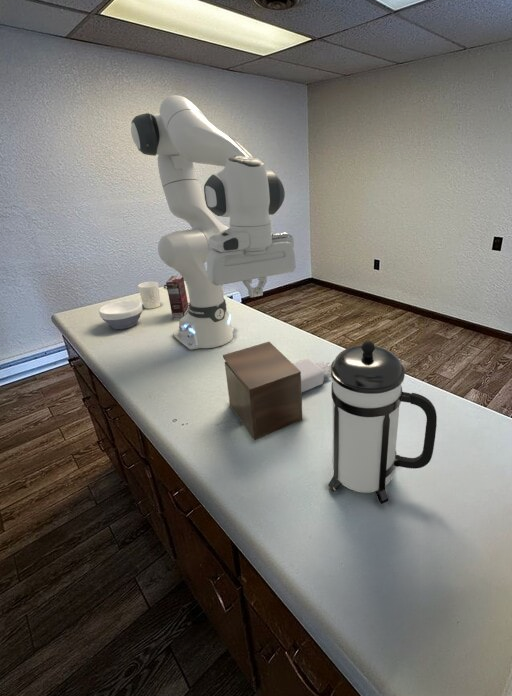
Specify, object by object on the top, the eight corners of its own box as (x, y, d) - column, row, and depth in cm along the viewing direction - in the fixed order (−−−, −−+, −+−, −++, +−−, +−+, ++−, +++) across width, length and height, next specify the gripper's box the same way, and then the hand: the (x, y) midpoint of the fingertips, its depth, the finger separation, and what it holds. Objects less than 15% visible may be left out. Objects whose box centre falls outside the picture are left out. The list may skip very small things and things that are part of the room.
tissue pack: (340, 378, 104) (296, 396, 96) (321, 364, 111) (279, 381, 103) (340, 364, 102) (295, 381, 94) (321, 351, 109) (278, 366, 101)
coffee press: (348, 526, 62) (352, 377, 51) (314, 460, 75) (311, 331, 64) (430, 491, 68) (449, 352, 57) (384, 437, 82) (393, 316, 71)
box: (229, 404, 93) (224, 361, 88) (273, 388, 100) (270, 347, 95) (254, 440, 81) (249, 393, 76) (302, 419, 88) (300, 374, 83)
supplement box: (177, 311, 152) (171, 275, 146) (189, 311, 152) (184, 275, 146) (172, 320, 144) (165, 282, 138) (184, 319, 144) (178, 281, 138)
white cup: (138, 308, 155) (133, 286, 151) (149, 302, 162) (145, 281, 159) (155, 309, 154) (150, 287, 150) (165, 303, 161) (161, 281, 157)
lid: (222, 357, 89) (222, 354, 88) (269, 344, 95) (269, 341, 95) (249, 392, 76) (249, 389, 76) (300, 374, 83) (300, 371, 82)
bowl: (133, 314, 149) (129, 297, 146) (152, 322, 141) (149, 304, 139) (96, 326, 138) (91, 308, 136) (115, 336, 130) (110, 317, 128)
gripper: (286, 229, 86) (288, 284, 92) (200, 239, 76) (208, 300, 81) (299, 233, 82) (301, 291, 87) (210, 245, 71) (217, 309, 76)
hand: (255, 295), depth 84 cm, fingers closed
